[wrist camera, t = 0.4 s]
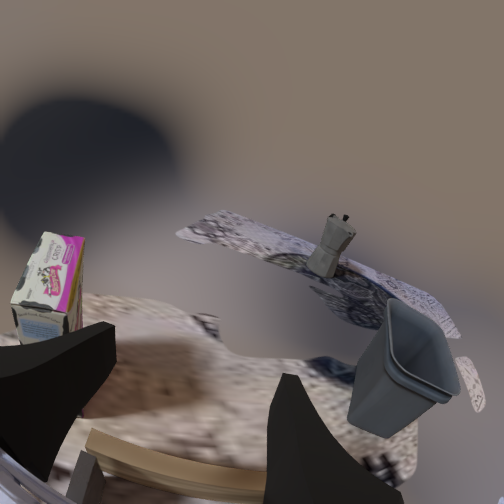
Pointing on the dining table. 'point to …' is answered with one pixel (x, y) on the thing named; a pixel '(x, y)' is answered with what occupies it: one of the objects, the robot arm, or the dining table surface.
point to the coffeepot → (331, 246)
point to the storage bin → (402, 372)
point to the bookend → (86, 481)
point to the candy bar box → (50, 290)
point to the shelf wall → (175, 472)
